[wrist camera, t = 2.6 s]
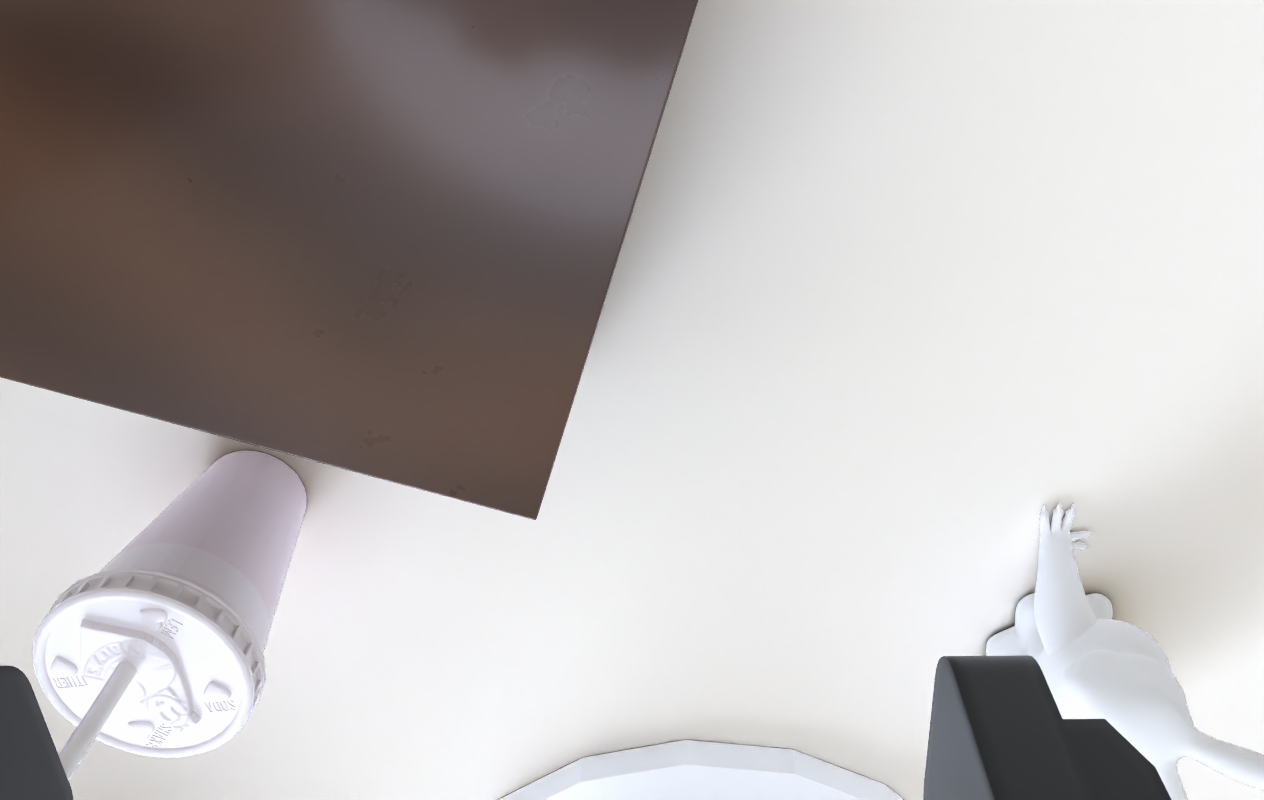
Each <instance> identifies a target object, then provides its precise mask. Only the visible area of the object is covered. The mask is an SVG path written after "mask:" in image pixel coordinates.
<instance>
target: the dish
mask: <svg viewBox="0 0 1264 800" xmlns="http://www.w3.org/2000/svg"><path fill="white" fill-rule="evenodd" d="M499 800H903V799H902V798H901V797H900V796H898V795H897V794H896V793H895V792H894V791H892V790H891V789H890V788H889V787H888V786H886V785H885V784H882V783H880V782H877V781H875V780H872V779H869V778H867V777H864V776H861V775H859V774H856V773H853V772H851V771H848V770H846V769H843V768H840V767H838V766H835V765H832V764H830V763H827V762H824V761H822V760H819V759H817V758H814V757H811V756H809V755H806V754H803V753H801V752H798V751H795V750H793V749H783V748H772V747H761V746H750V745H738V744H727V743H716V742H705V741H694V740H681V741H676V742H670V743H664V744H658V745H653V746H647V747H641V748H635V749H629V750H624V751H618V752H612V753H606V754H601V755H595V756H589V757H583V758H581V759H579V760H577V761H575V762H573V763H571V764H569V765H567V766H565V767H563V768H561V769H559V770H557V771H555V772H553V773H551V774H549V775H547V776H545V777H543V778H541V779H539V780H537V781H535V782H533V783H531V784H529V785H527V786H525V787H523V788H521V789H519V790H517V791H515V792H513V793H511V794H509V795H507V796H505V797H503V798H501V799H499Z"/></svg>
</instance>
